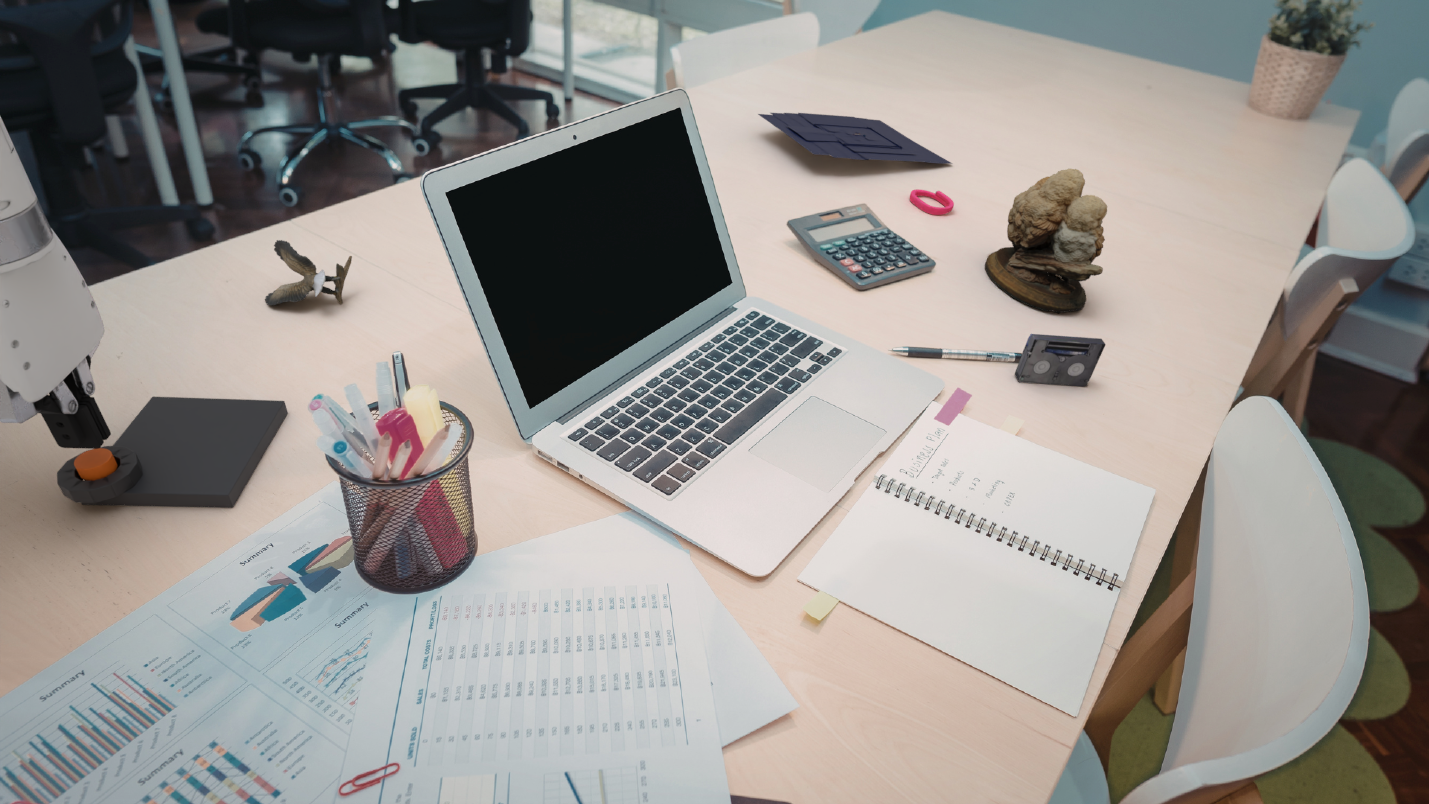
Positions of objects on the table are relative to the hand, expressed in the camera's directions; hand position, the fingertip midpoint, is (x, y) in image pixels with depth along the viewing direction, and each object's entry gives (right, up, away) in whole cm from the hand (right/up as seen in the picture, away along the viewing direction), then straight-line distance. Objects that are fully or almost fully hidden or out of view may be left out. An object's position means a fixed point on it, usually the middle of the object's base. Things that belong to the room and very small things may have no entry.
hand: (85, 441), depth 65 cm
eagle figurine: (+3, +15, +30) cm, 34 cm away
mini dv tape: (+90, +5, +30) cm, 95 cm away
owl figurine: (+96, +19, +49) cm, 109 cm away
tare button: (0, -3, +2) cm, 3 cm away
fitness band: (+86, +35, +69) cm, 116 cm away
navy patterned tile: (+76, +50, +87) cm, 126 cm away
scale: (+4, -2, +8) cm, 9 cm away
